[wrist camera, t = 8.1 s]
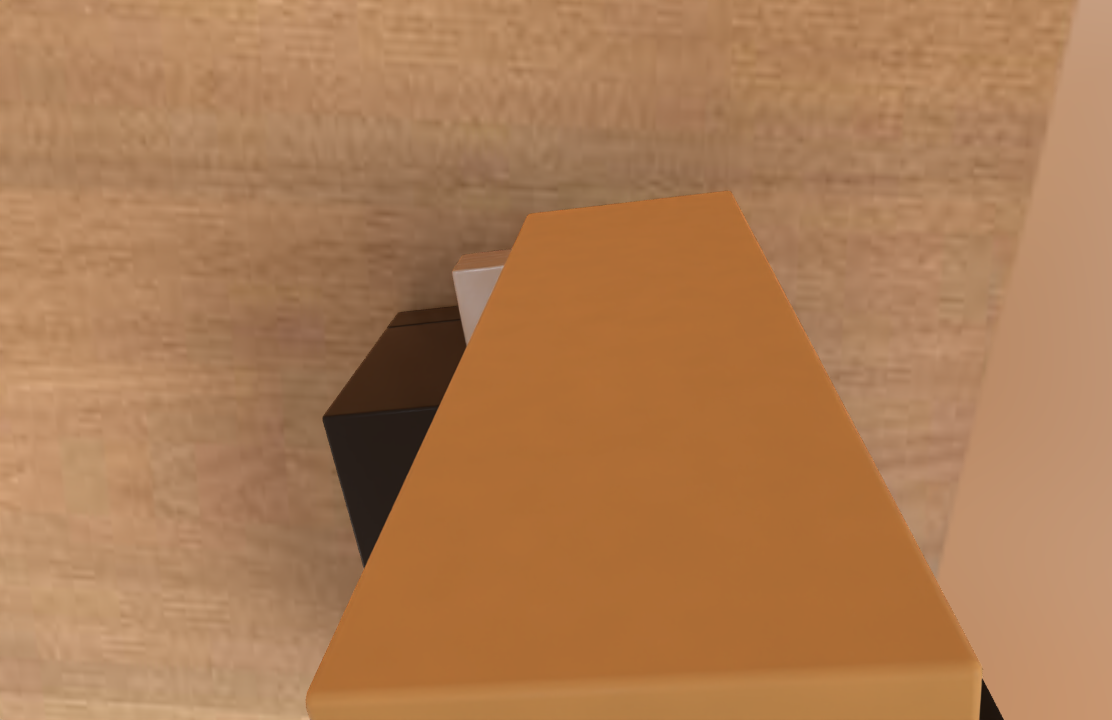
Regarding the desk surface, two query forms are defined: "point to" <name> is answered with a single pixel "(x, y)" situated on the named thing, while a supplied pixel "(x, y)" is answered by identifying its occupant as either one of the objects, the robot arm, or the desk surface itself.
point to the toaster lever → (476, 285)
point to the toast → (644, 508)
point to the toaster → (391, 413)
